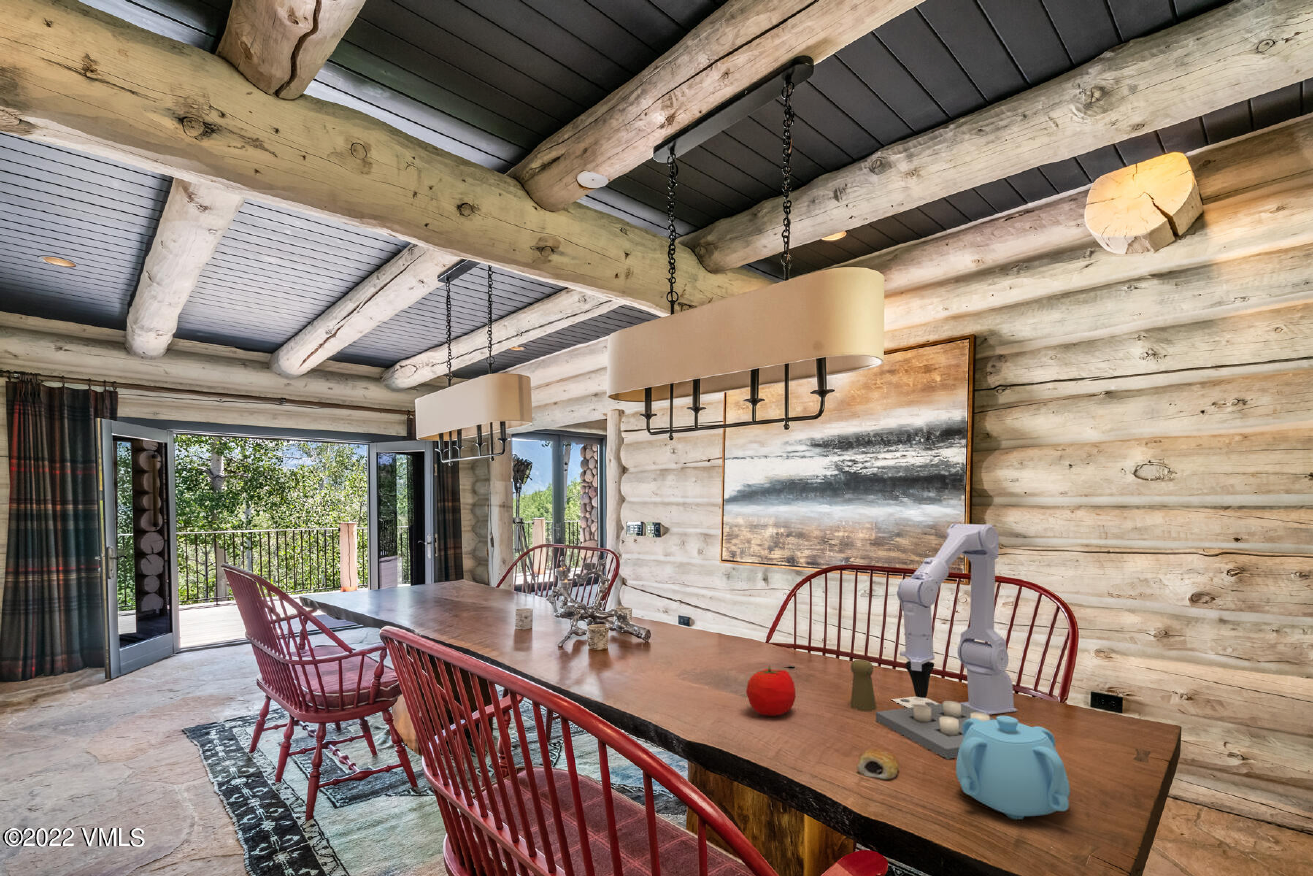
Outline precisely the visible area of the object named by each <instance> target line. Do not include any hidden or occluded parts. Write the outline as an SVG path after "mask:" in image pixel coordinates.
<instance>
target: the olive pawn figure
mask: <svg viewBox="0 0 1313 876" xmlns="http://www.w3.org/2000/svg"><path fill="white" fill-rule="evenodd" d="M850 671H851V673H852V675H853V676H852V687H851V688H852V689H851V698H850V707H852V708H851V709H853V708H855V709H857V710H856V711H859V710H860V712H873V711H872V710H874V711H876V710H877V709H876V708H877V704H876V697H875V691H874V686H873V680H872V675H873V672H874V666H873V663H871V661H869V660H866V659H854V660H853V661H852V662H851V664H850ZM855 709H854V710H855ZM875 709H876V710H875Z"/></svg>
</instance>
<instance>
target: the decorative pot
mask: <svg viewBox="0 0 1313 876" xmlns="http://www.w3.org/2000/svg"><path fill="white" fill-rule="evenodd" d="M995 719H996V720H988V721H981V720H979V719H976V718H971V719H968V720H966V721H964V723H963V725H962V732H963V737H964V739H963V741H962V743H961V746H960V748H959V752H958V756H957V758H956V765H955V772H956V773H955V774H956V777H957V780H958V783H959V784H960V788H961V789H962V791H963V792H964V793H965V794H967V795H969V796H971V798H974V799H975V801H978V802H980V803H981V804H983V805H985V806H987V807H990V808H991V809H994V810H996V811H997V812H1001V813H1003V814H1005V816H1007V817H1008V818H1010V819H1013V820H1017V819H1022V820H1024V819H1023V818H1025V817H1036V816H1037V817H1039V816H1046V815H1049V814H1052V813H1055V812H1058V811H1059V812H1065V811H1067V810H1068V809H1069V806H1070V803H1069V797H1070V793H1071V790H1070V789H1071V788H1070V783H1069V779H1068V778H1069V777H1068V774H1067V770H1066V769H1065V766H1064V765H1065V764H1064V761H1063V759H1062V758H1061V756H1060V755H1059V753H1058V751H1057V749H1056V739H1055V737H1054V734H1053V733H1052V732H1051V731H1050V730H1048V729H1046V728H1045V727H1042V726H1036V725H1035V726H1033V727H1032V726H1029V725H1027V724H1023V723H1020V722H1019V720H1018V719H1017V718H1015V717H1012V716H1009V715H998V716H996V717H995Z"/></svg>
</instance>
